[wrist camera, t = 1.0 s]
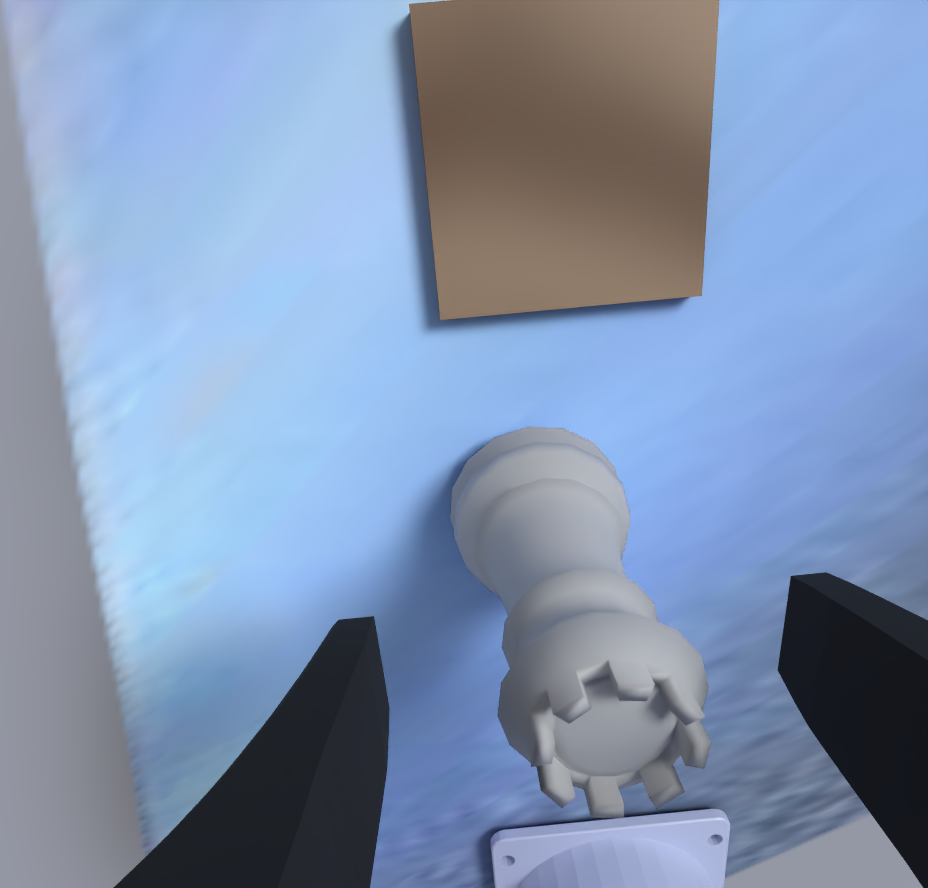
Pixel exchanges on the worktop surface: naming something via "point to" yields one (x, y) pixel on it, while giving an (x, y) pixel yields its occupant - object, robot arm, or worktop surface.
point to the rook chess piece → (577, 623)
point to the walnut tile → (565, 149)
